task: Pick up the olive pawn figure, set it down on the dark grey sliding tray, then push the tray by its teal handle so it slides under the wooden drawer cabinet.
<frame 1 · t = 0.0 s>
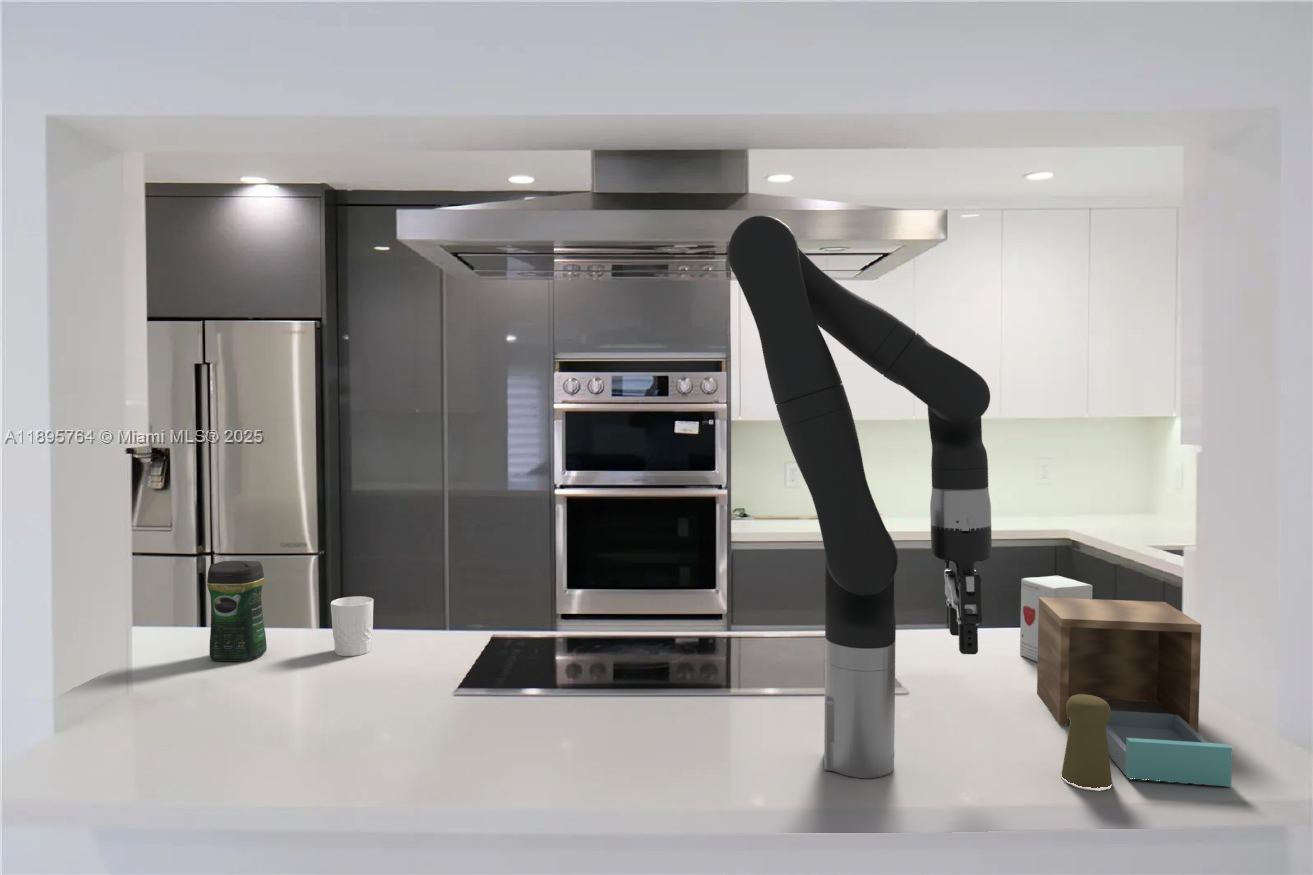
hand: (963, 644, 116), 17 cm above the counter, tool pointing down, fingers open, 8 cm apart
wooden drawer cabinet: (1112, 711, 138), on the counter
olive pawn figure: (1086, 782, 114), on the counter
supplement box: (1054, 660, 165), on the counter
white cup: (353, 652, 172), on the counter
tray: (1154, 737, 121), point 3 cm above the counter, slide at 0.0 cm
coffee jar: (238, 657, 169), on the counter
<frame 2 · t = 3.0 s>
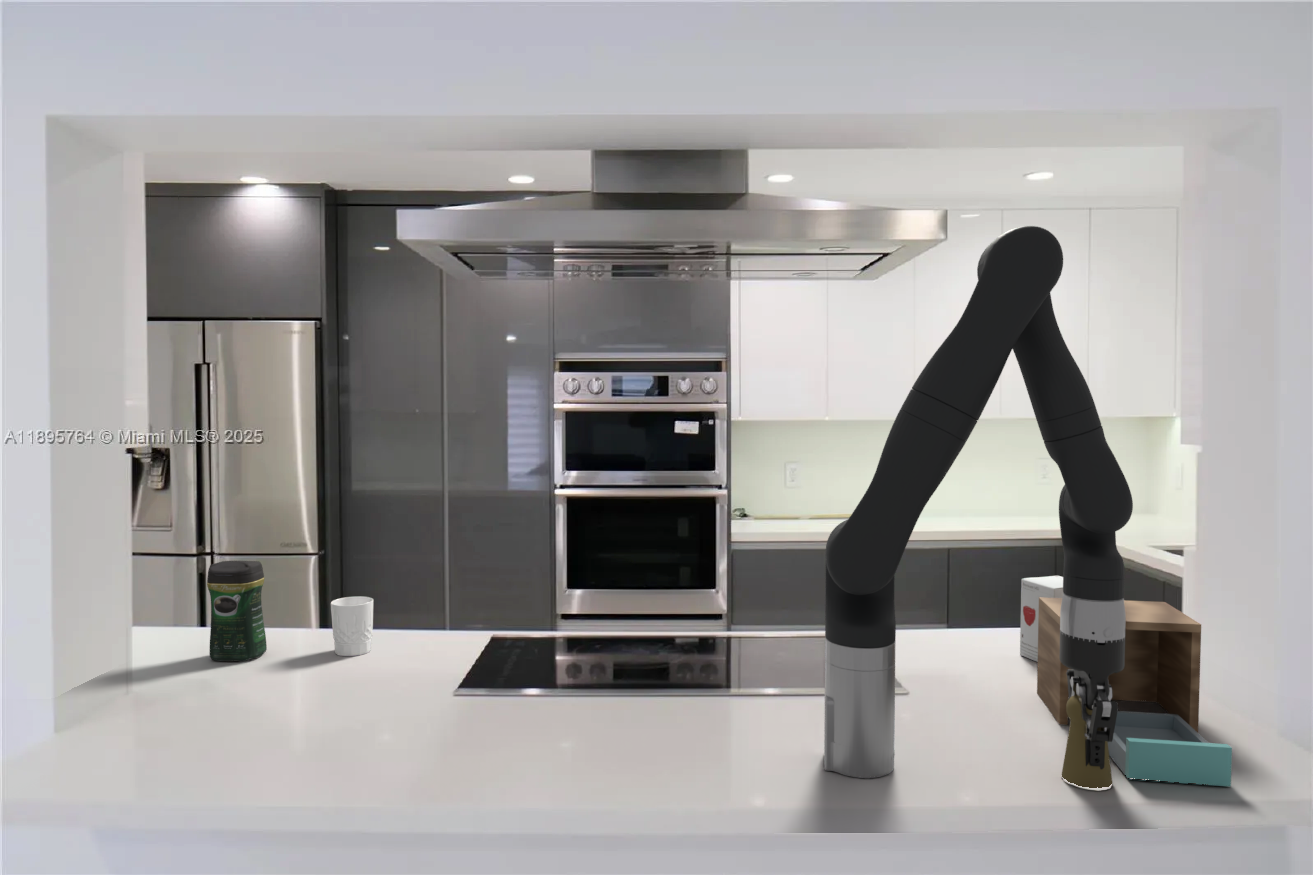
hand: (1089, 760, 114), 3 cm above the counter, tool pointing down, fingers closed on olive pawn figure, 3 cm apart
olive pawn figure: (1086, 782, 114), on the counter, touching gripper
everything else where it was.
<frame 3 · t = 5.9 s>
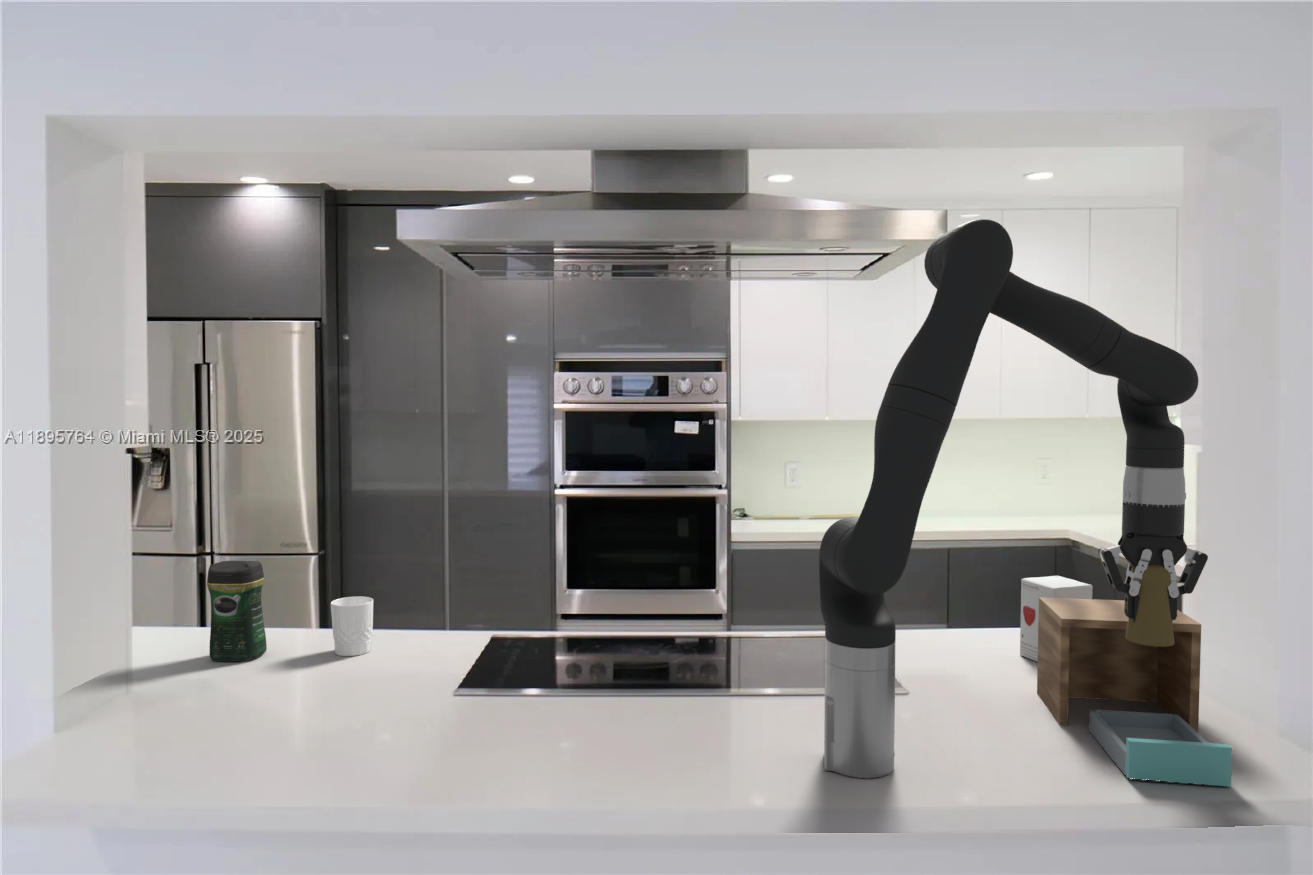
hand: (1149, 621, 123), 18 cm above the counter, tool pointing down, fingers closed on olive pawn figure, 3 cm apart
olive pawn figure: (1149, 641, 123), point 15 cm above the counter, touching gripper
everything else where it was.
when the fingers open (5 cm above the counter, at t = 8.6 s): olive pawn figure stays where it is, resting on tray.
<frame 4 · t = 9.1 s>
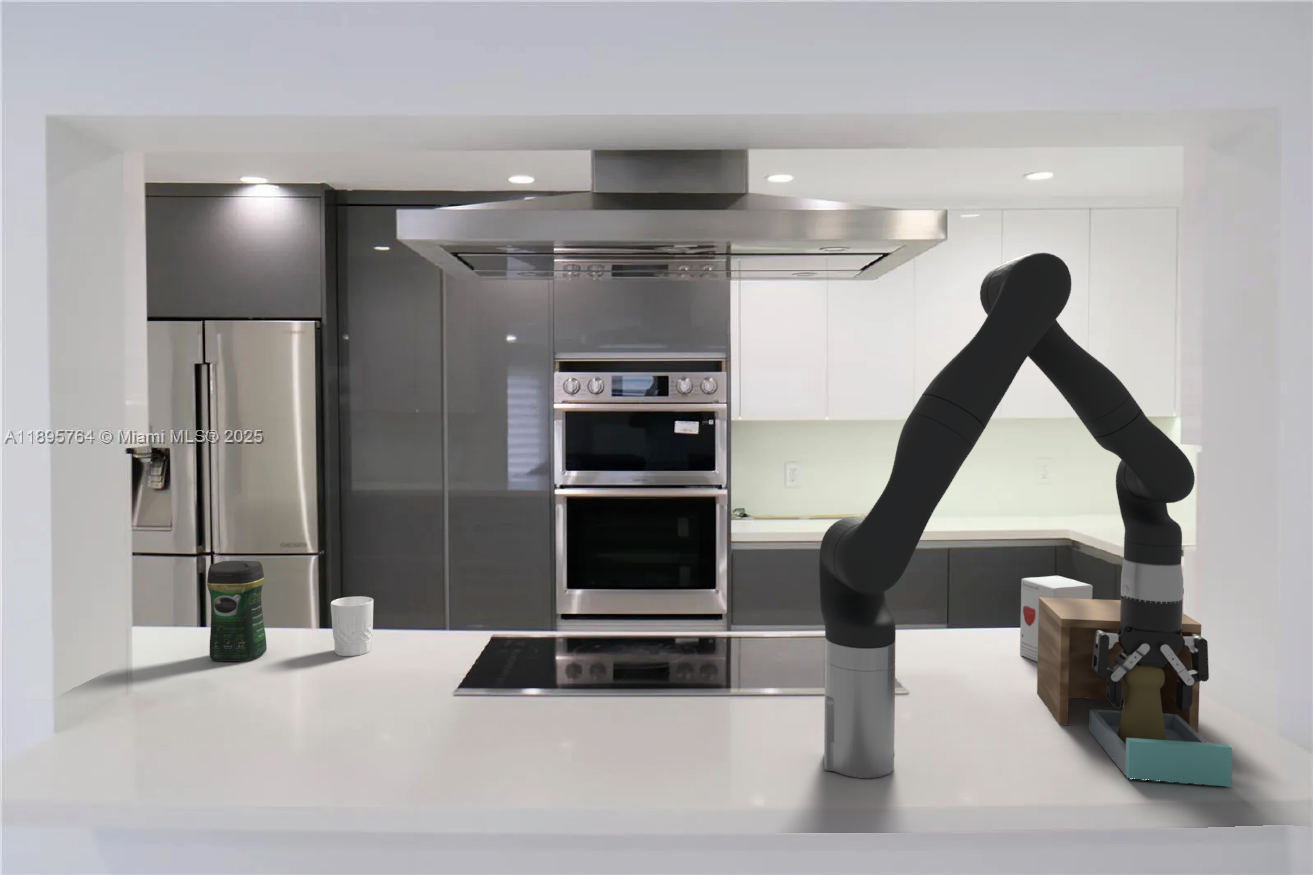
hand: (1148, 707, 123), 6 cm above the counter, tool pointing down, fingers open, 8 cm apart
olive pawn figure: (1141, 741, 124), point 1 cm above the counter, touching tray
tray: (1154, 737, 121), point 3 cm above the counter, slide at 0.0 cm, touching olive pawn figure
everything else where it was.
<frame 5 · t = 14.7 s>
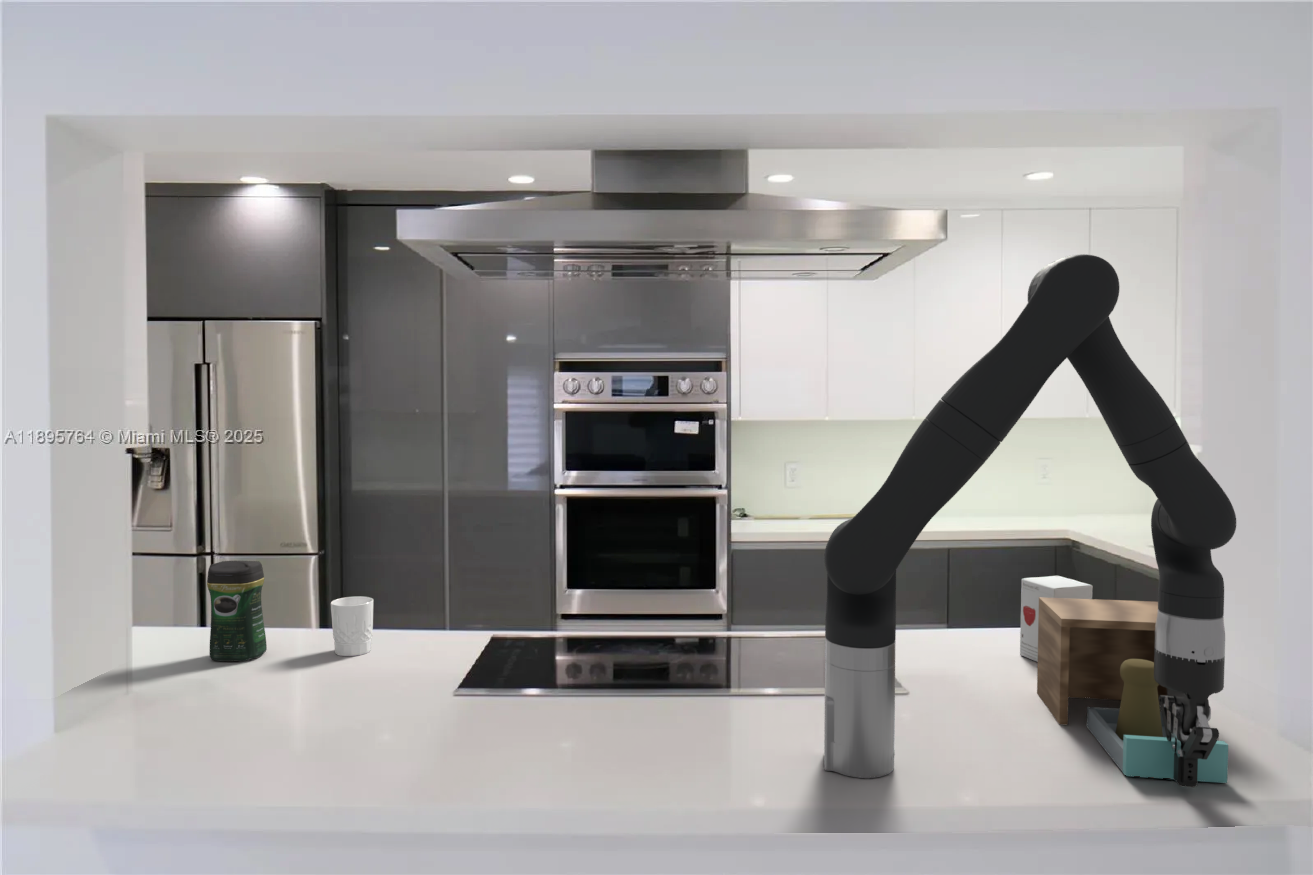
hand: (1185, 784, 111), 1 cm above the counter, tool pointing down, fingers closed
olive pawn figure: (1139, 738, 125), point 1 cm above the counter, touching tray
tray: (1151, 734, 122), point 3 cm above the counter, slide at 1.0 cm, touching gripper, olive pawn figure
everything else where it was.
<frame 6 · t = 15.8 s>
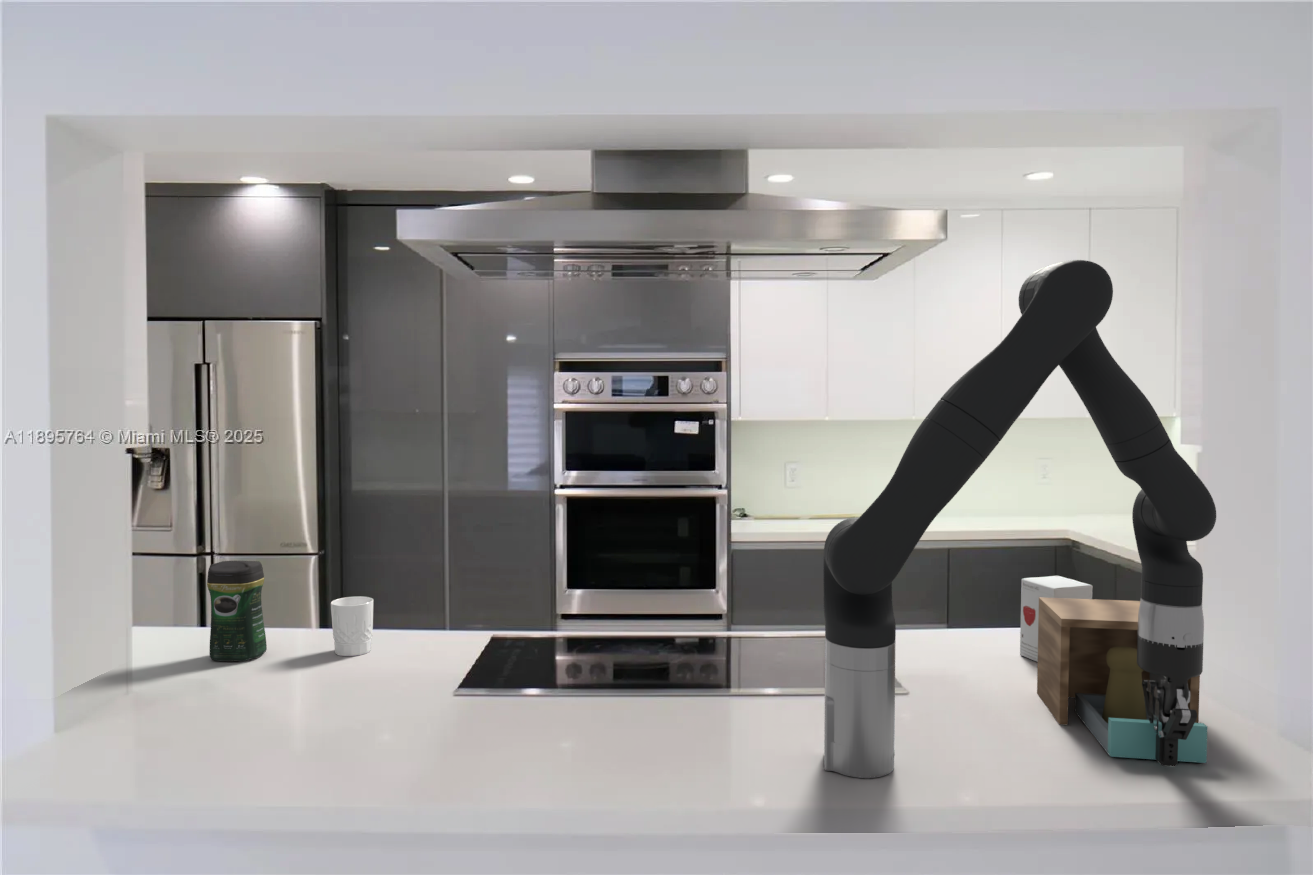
hand: (1166, 763, 117), 1 cm above the counter, tool pointing down, fingers closed
olive pawn figure: (1124, 722, 131), point 1 cm above the counter, touching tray
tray: (1136, 718, 128), point 3 cm above the counter, slide at 7.2 cm, touching gripper, olive pawn figure
everything else where it was.
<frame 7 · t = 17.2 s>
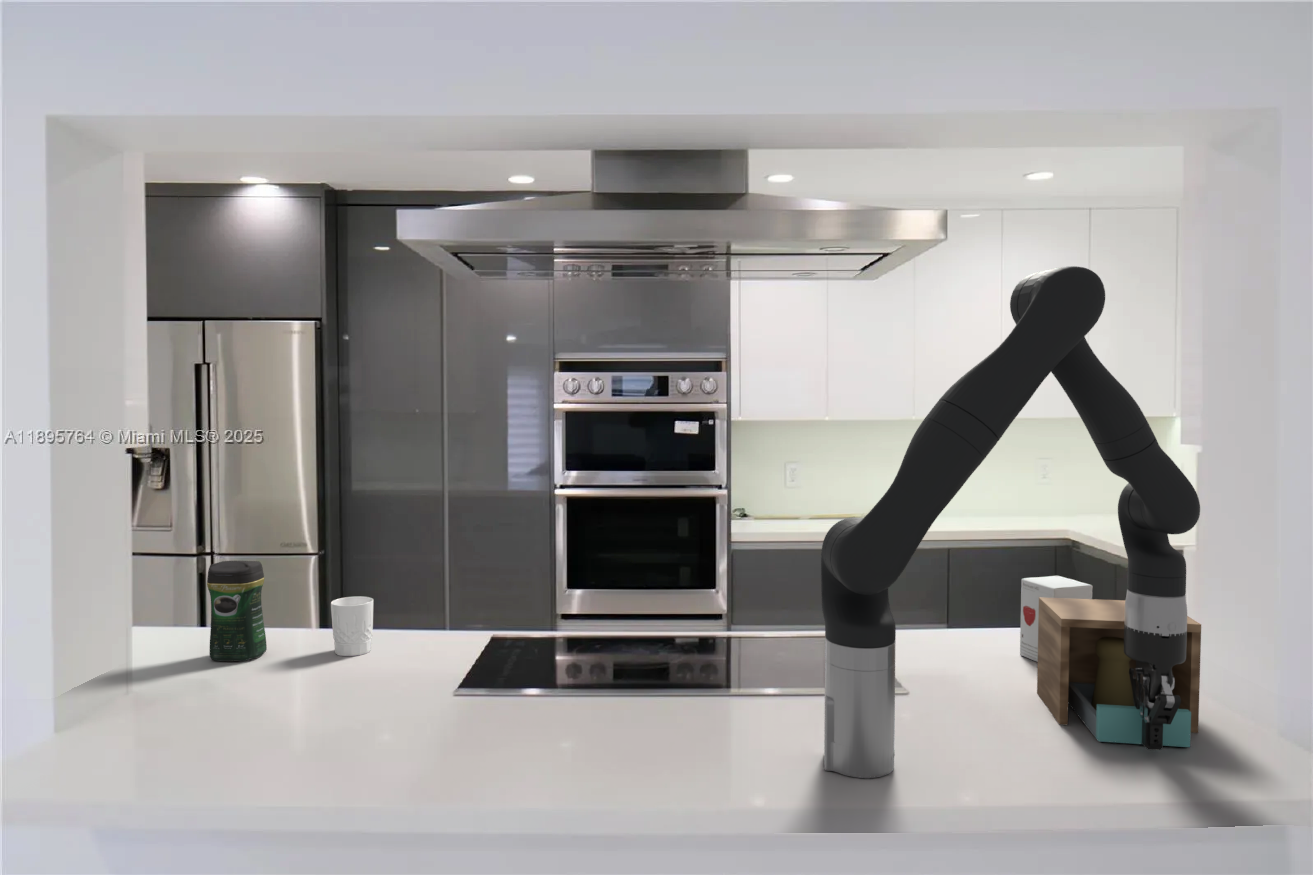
hand: (1151, 747, 122), 1 cm above the counter, tool pointing down, fingers closed
olive pawn figure: (1112, 709, 136), point 1 cm above the counter, touching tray
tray: (1123, 705, 133), point 3 cm above the counter, slide at 12.5 cm, touching gripper, olive pawn figure
everything else where it was.
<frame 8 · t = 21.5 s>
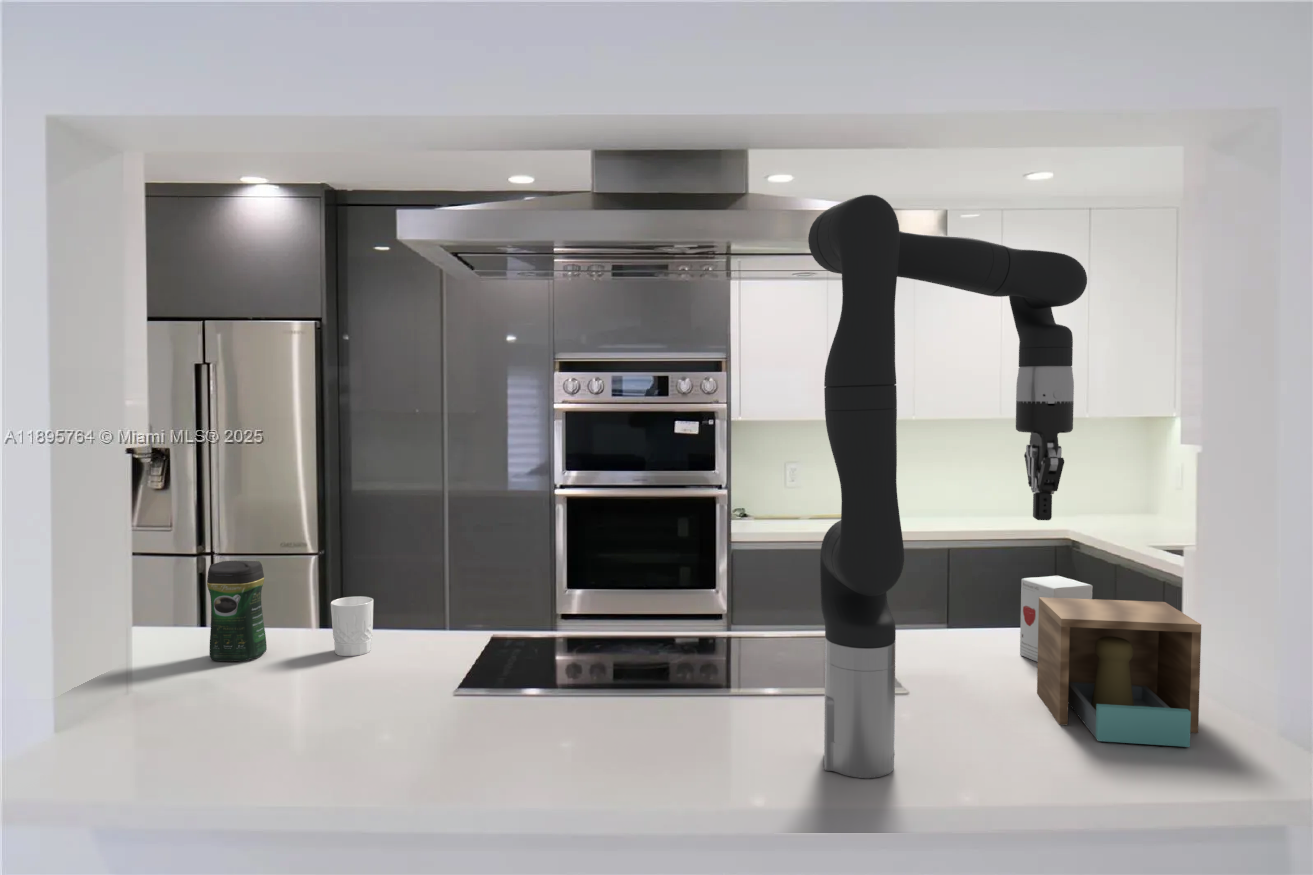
hand: (1042, 519, 126), 32 cm above the counter, tool pointing down, fingers closed
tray: (1123, 705, 133), point 3 cm above the counter, slide at 12.6 cm, touching olive pawn figure
everything else where it was.
at the end: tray slide at 12.6 cm; olive pawn figure inside the target area (1.8 cm from its centre), point 1.1 cm above the counter; olive pawn figure tilted 0° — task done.
